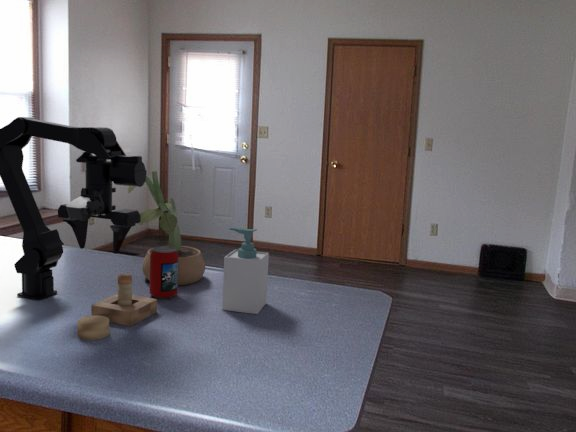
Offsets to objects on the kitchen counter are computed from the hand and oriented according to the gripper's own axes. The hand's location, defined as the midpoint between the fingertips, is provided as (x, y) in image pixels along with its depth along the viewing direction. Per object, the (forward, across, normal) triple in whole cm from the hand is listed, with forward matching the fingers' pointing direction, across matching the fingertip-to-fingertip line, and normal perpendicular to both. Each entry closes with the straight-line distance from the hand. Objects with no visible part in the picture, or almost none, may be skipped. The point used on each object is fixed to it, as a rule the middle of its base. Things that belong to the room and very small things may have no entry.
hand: (98, 250), depth 129 cm
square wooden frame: (+12, +10, -4) cm, 16 cm away
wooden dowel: (+12, +10, -4) cm, 16 cm away
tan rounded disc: (+13, +11, -16) cm, 23 cm away
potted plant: (+13, +3, +24) cm, 27 cm away
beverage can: (+13, +10, +12) cm, 20 cm away
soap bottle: (+13, +31, +14) cm, 36 cm away
